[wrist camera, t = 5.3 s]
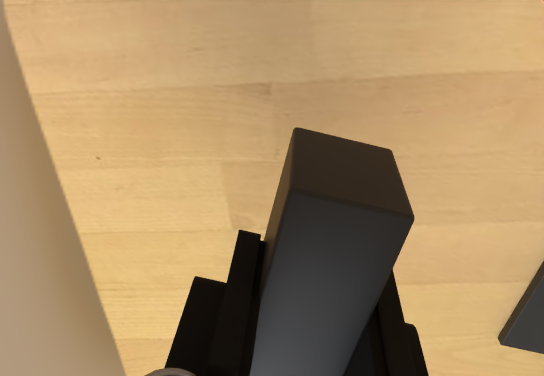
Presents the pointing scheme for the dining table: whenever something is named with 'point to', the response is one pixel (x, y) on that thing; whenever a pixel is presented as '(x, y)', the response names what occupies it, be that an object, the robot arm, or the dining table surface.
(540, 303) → the cake
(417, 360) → the robot arm
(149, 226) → the dining table surface
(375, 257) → the knife
